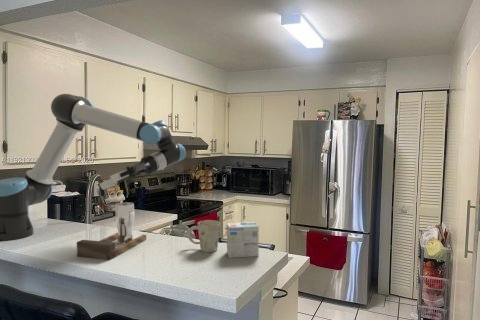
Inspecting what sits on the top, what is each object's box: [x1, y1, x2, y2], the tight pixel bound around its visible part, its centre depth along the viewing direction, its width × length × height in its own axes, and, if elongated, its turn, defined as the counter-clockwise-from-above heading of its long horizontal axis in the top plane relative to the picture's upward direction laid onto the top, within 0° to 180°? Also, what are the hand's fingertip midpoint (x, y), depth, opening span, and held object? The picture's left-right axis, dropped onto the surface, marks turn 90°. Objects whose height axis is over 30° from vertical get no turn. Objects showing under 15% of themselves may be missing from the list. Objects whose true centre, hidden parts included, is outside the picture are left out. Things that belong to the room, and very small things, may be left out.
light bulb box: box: [226, 221, 260, 259], centre depth 125 cm, size 11×7×11 cm, turn 100°
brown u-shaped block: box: [76, 232, 147, 261], centre depth 132 cm, size 24×13×5 cm, turn 166°
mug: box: [187, 219, 221, 253], centre depth 130 cm, size 8×13×10 cm, turn 78°
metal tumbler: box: [115, 202, 135, 245], centre depth 139 cm, size 7×7×15 cm
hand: (106, 183), depth 135 cm, fingers open, 13 cm apart
